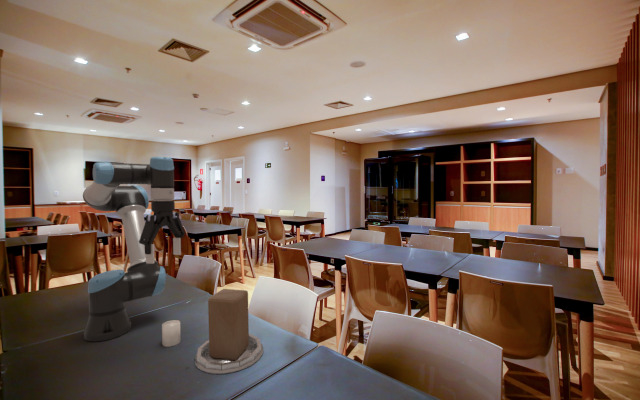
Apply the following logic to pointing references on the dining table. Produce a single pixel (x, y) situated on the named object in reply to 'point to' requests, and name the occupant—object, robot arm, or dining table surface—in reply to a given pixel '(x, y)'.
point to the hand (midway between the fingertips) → (164, 258)
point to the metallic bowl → (226, 365)
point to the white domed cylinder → (171, 333)
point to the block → (228, 324)
